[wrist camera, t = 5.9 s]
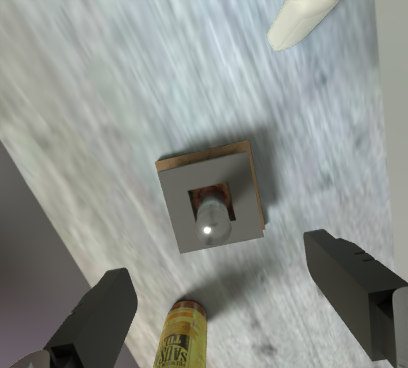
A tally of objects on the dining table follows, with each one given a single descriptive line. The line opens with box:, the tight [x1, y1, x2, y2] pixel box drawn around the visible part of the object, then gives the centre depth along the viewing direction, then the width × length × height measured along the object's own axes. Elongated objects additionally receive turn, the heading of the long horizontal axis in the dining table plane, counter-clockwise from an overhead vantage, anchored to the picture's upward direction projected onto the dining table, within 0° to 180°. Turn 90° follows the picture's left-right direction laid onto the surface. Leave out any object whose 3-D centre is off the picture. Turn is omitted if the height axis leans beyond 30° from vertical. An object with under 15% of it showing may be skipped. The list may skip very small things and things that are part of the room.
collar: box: [158, 151, 264, 254], centre depth 24 cm, size 10×10×2 cm
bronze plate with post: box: [155, 140, 265, 246], centre depth 23 cm, size 12×12×11 cm
